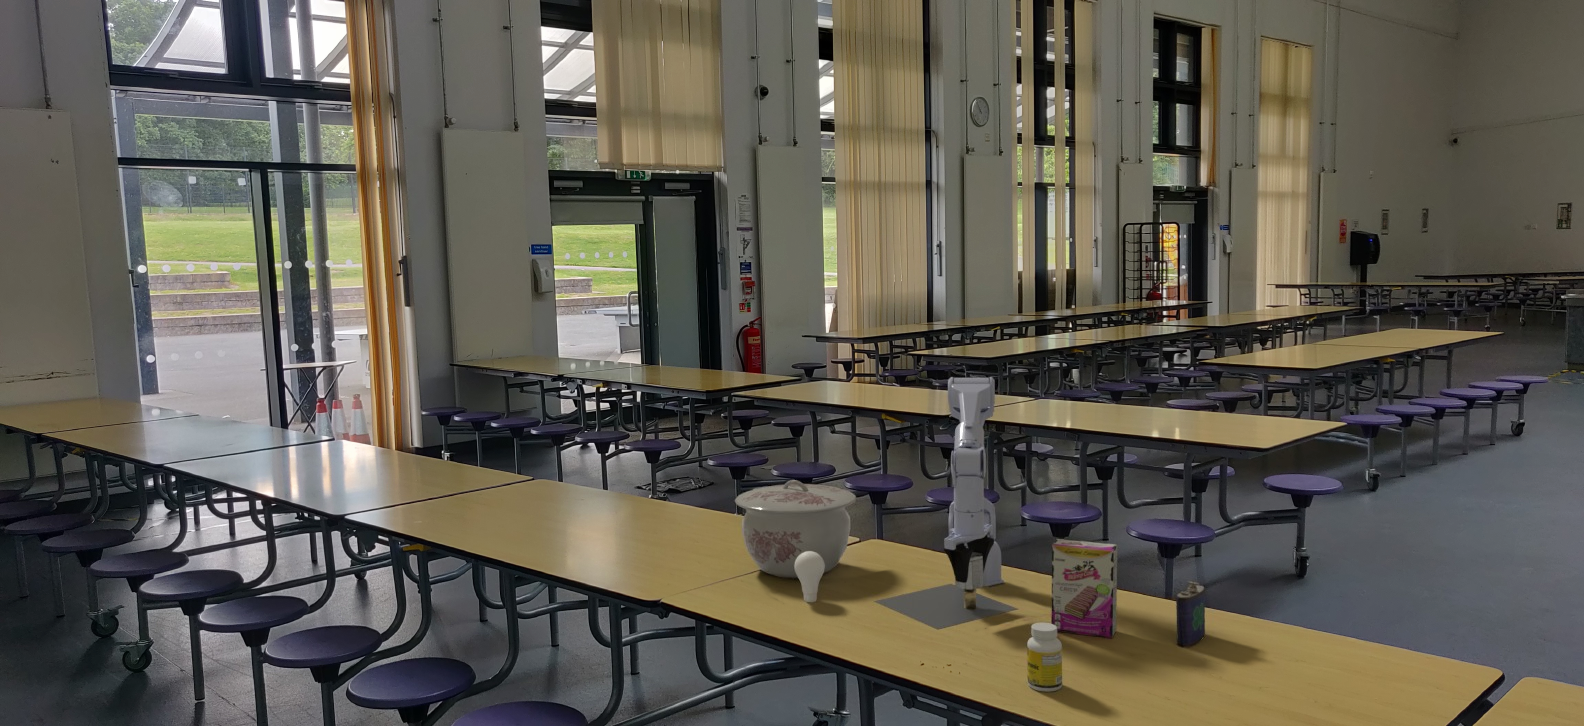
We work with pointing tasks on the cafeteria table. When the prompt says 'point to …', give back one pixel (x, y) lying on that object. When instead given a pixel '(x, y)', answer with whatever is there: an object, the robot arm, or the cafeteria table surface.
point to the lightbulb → (809, 573)
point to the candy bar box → (1084, 587)
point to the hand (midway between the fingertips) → (969, 577)
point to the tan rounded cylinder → (969, 598)
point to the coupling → (973, 573)
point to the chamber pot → (795, 525)
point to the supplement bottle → (1044, 658)
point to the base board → (943, 606)
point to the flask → (1190, 615)
